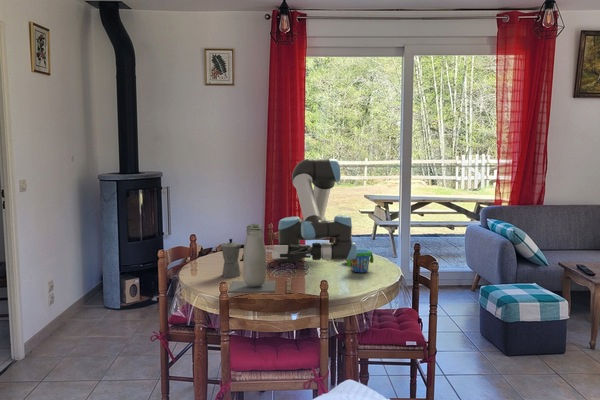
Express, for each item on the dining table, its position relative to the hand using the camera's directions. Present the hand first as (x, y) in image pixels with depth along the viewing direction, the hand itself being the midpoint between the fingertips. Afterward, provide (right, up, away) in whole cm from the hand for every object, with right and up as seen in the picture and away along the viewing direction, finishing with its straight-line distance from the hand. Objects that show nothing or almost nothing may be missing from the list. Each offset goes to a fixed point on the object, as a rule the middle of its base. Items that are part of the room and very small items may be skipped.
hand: (272, 251), depth 216 cm
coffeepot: (-20, -14, +22) cm, 33 cm away
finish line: (+7, -16, +2) cm, 18 cm away
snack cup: (+42, -13, +28) cm, 52 cm away
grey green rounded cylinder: (-8, -16, +2) cm, 18 cm away
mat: (-9, -16, +3) cm, 18 cm away
